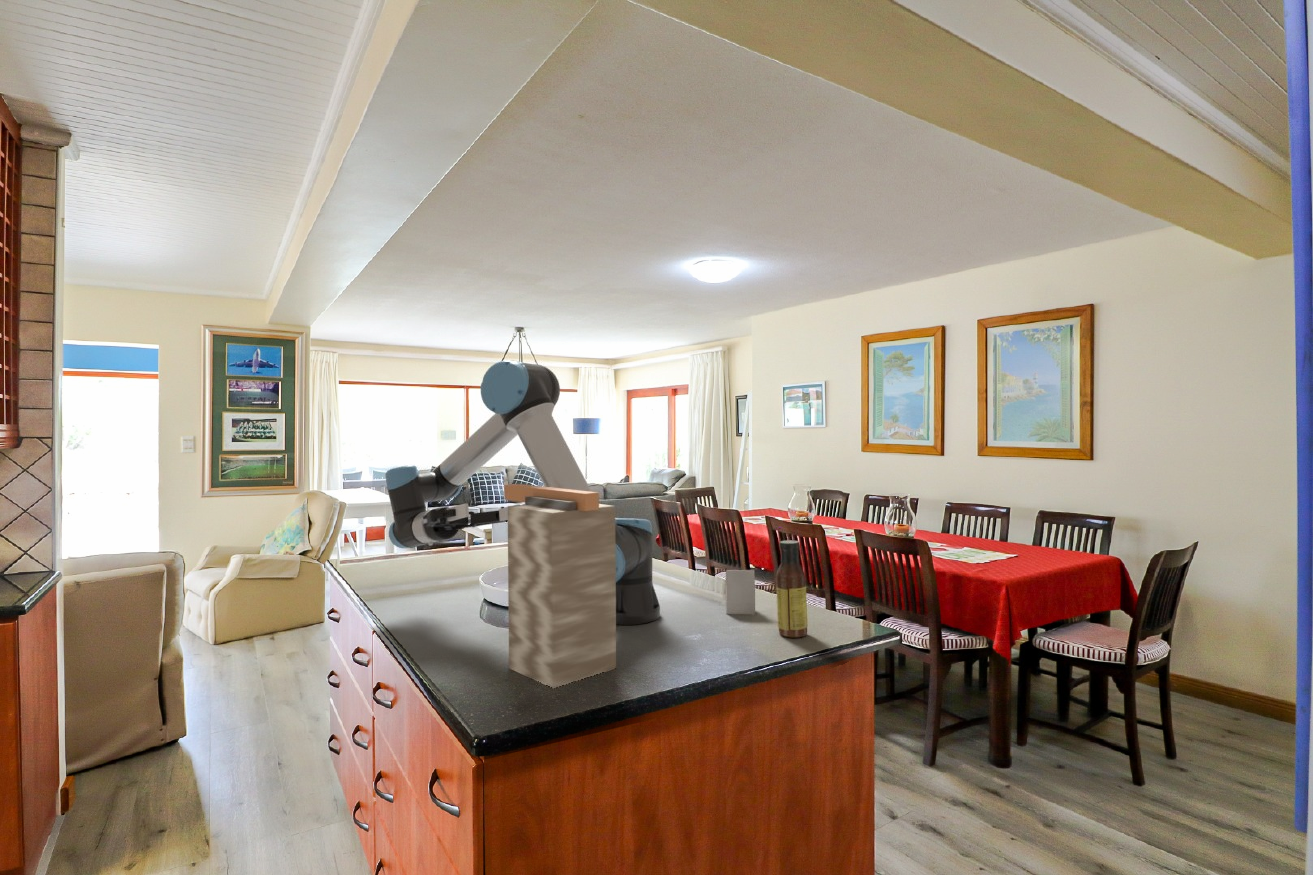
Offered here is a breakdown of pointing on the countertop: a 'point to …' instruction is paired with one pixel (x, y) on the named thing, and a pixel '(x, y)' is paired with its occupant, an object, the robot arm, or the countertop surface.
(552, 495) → the orange bar
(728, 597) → the light grey block
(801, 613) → the sauce bottle
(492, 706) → the countertop surface
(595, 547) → the grey-brown tall block
